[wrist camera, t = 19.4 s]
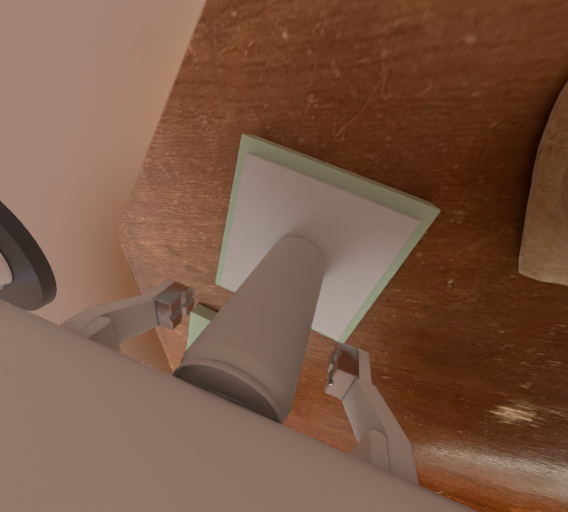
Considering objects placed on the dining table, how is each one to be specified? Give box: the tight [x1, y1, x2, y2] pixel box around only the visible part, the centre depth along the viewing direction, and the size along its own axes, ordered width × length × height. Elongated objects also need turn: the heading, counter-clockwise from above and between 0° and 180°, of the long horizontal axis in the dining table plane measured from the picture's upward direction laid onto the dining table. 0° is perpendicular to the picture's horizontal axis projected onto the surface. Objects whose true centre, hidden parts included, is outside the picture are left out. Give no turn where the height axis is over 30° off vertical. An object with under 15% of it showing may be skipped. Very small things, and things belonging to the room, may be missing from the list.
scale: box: [215, 134, 441, 343], centre depth 20 cm, size 15×15×3 cm
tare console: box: [186, 304, 217, 350], centre depth 30 cm, size 11×9×4 cm
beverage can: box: [173, 237, 326, 425], centre depth 13 cm, size 5×5×12 cm
